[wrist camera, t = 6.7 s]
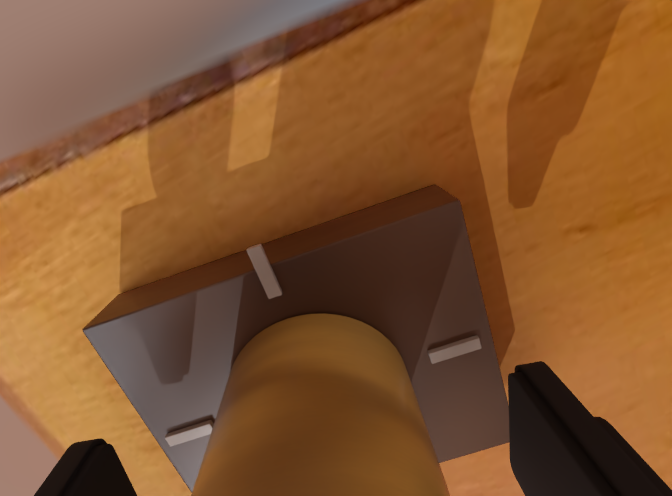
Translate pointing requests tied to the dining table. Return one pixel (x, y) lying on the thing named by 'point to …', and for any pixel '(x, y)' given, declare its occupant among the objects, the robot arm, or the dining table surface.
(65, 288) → the dining table surface
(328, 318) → the knob
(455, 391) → the dimmer
